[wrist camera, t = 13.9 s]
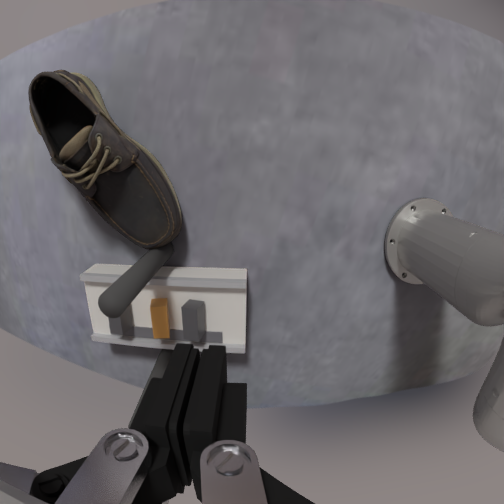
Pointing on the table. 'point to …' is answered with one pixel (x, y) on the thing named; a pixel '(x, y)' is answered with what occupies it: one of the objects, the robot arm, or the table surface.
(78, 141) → the boat shoe
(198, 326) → the grey block
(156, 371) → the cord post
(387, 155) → the table surface
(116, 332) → the grey block
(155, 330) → the rectangular block
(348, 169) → the table surface
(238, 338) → the breaker panel
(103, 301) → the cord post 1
